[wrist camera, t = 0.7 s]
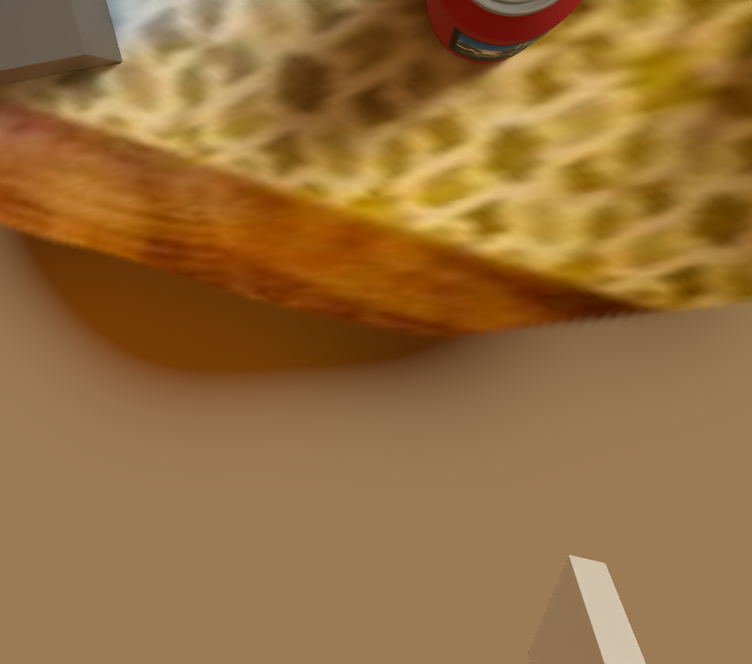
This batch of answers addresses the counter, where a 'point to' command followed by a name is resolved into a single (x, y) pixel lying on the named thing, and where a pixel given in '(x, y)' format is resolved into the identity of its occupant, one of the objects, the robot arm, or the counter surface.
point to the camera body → (54, 37)
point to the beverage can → (494, 25)
